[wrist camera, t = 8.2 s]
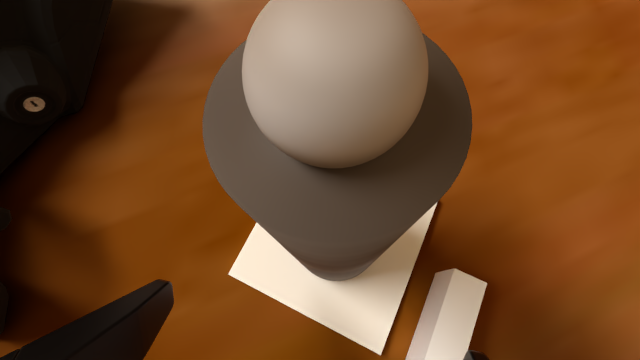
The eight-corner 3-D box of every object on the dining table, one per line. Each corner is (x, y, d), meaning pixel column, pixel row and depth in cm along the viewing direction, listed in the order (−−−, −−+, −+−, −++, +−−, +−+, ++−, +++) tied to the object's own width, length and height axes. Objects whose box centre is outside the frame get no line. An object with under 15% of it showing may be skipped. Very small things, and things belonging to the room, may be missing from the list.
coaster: (379, 353, 16) (380, 355, 16) (230, 274, 18) (228, 274, 17) (437, 200, 19) (439, 198, 18) (302, 144, 20) (301, 141, 20)
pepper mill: (384, 277, 17) (634, 175, 3) (296, 284, 17) (91, 223, 3) (372, 192, 19) (488, -144, 4) (292, 199, 19) (150, -106, 5)
